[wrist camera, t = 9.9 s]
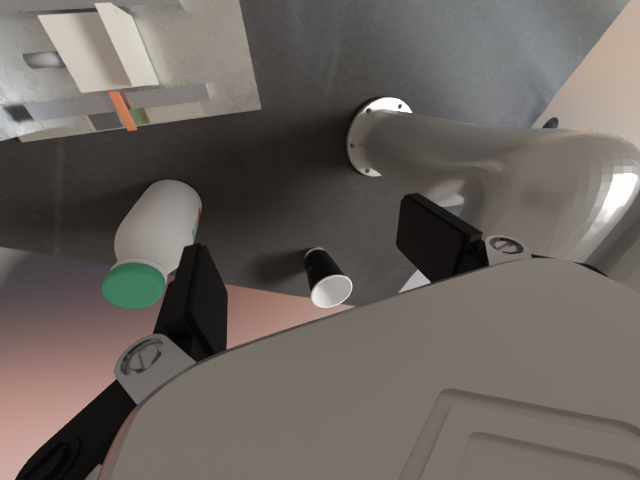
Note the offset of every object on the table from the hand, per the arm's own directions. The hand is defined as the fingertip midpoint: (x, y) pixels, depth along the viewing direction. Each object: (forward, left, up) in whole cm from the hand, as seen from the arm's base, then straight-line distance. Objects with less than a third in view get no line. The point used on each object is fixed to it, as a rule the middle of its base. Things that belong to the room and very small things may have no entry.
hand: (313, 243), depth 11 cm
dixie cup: (-6, +26, -31) cm, 41 cm away
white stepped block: (+15, -8, -29) cm, 34 cm away
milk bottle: (+15, +8, -31) cm, 35 cm away
